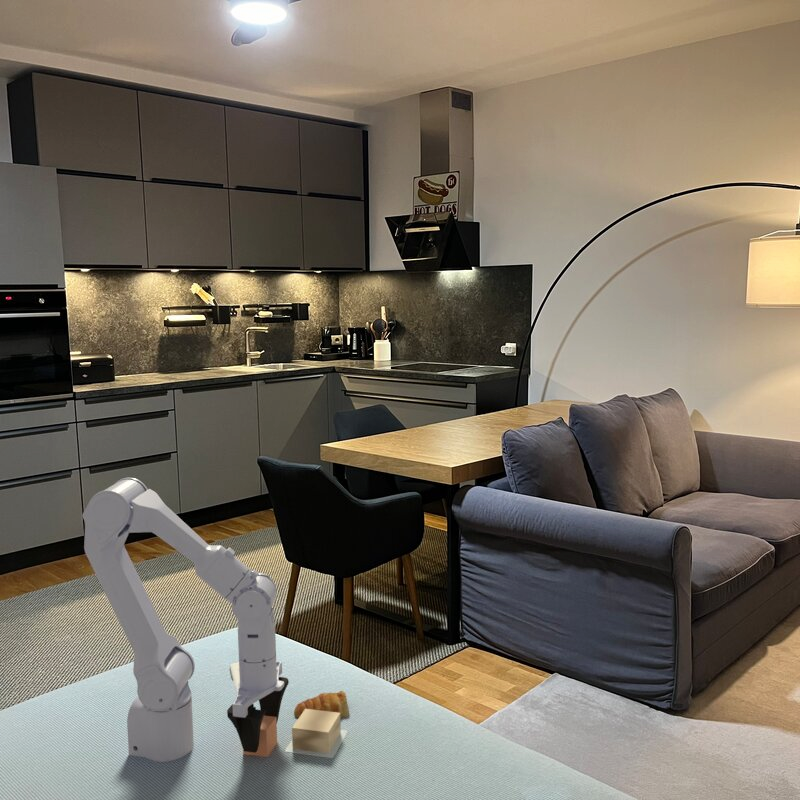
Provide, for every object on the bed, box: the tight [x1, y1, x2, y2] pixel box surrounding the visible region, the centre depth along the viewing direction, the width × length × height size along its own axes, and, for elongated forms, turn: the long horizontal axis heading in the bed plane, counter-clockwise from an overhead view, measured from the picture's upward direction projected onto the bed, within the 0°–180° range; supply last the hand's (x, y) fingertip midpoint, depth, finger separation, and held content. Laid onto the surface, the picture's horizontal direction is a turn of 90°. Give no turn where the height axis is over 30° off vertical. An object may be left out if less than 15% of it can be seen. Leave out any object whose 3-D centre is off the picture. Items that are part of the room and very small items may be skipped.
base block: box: [291, 709, 342, 753], centre depth 126 cm, size 6×6×4 cm
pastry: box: [293, 690, 350, 719], centre depth 136 cm, size 9×7×4 cm
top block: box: [242, 716, 278, 758], centre depth 124 cm, size 4×4×4 cm
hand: (260, 737), depth 124 cm, fingers open, 7 cm apart
